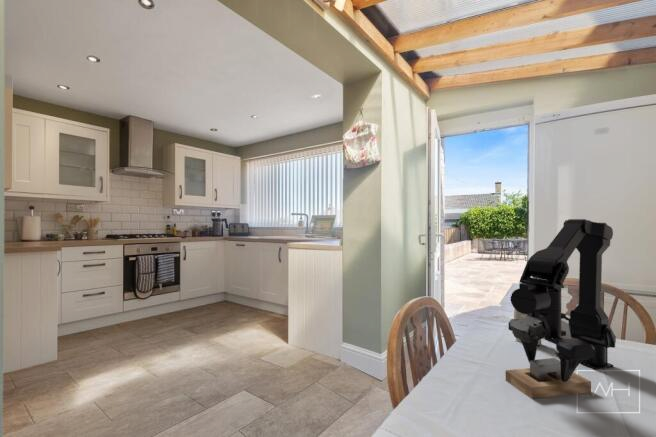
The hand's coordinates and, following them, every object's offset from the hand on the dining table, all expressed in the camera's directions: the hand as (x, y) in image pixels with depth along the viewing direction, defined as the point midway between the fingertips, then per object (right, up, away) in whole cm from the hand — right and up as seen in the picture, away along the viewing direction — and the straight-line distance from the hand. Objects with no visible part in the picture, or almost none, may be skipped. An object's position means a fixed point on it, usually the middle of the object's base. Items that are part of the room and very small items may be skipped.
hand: (546, 371), depth 74 cm
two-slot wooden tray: (0, -4, 0) cm, 4 cm away
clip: (0, -4, 0) cm, 4 cm away
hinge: (+26, -4, +34) cm, 43 cm away
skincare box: (+13, -4, +27) cm, 30 cm away
